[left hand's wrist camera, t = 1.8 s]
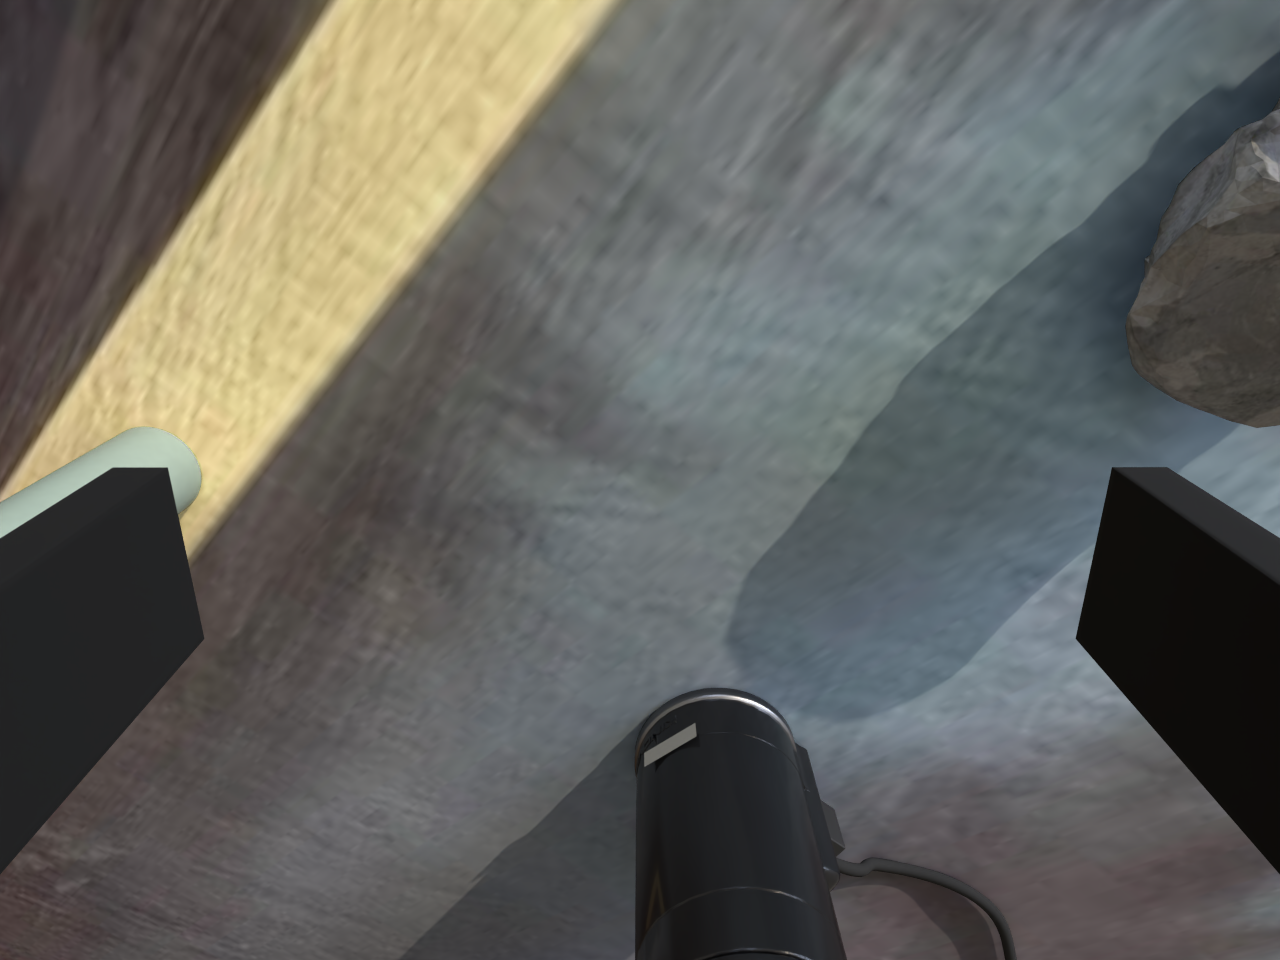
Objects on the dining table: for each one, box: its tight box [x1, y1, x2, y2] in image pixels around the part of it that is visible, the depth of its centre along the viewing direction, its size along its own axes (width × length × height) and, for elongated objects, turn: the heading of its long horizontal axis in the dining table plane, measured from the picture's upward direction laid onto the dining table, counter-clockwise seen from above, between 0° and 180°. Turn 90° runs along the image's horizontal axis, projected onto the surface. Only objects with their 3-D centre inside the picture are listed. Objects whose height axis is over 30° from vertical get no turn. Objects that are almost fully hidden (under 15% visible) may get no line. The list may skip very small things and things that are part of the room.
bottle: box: [0, 427, 201, 538], centre depth 34 cm, size 5×5×23 cm
